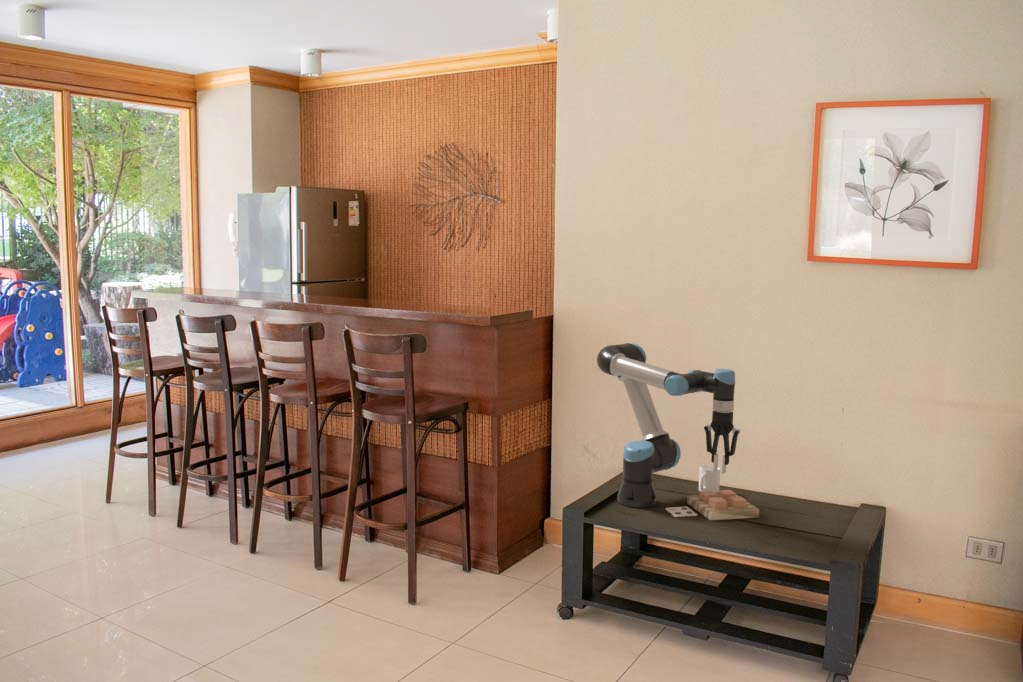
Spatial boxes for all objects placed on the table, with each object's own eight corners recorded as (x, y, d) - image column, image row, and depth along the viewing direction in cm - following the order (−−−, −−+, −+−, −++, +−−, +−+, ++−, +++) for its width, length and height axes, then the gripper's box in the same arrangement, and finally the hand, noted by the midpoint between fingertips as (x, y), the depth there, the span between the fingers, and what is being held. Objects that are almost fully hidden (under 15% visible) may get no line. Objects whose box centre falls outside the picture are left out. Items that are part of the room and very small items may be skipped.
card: (665, 509, 316) (665, 507, 316) (686, 508, 318) (687, 506, 318) (675, 517, 308) (675, 515, 308) (697, 515, 310) (697, 513, 310)
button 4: (727, 505, 316) (728, 496, 315) (739, 505, 317) (740, 496, 316) (734, 510, 311) (734, 500, 310) (746, 509, 312) (746, 500, 311)
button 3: (718, 499, 323) (718, 490, 323) (729, 498, 324) (730, 489, 324) (724, 503, 318) (724, 494, 318) (735, 502, 320) (736, 493, 319)
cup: (722, 491, 340) (723, 467, 339) (710, 498, 331) (711, 473, 330) (703, 487, 345) (705, 463, 344) (691, 494, 336) (692, 469, 335)
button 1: (699, 500, 321) (699, 491, 321) (711, 499, 323) (711, 490, 322) (705, 504, 317) (705, 495, 316) (716, 503, 318) (717, 494, 317)
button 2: (708, 507, 314) (709, 497, 313) (720, 506, 315) (721, 497, 314) (714, 511, 309) (715, 502, 308) (726, 510, 310) (727, 501, 310)
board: (686, 503, 324) (687, 495, 324) (733, 500, 329) (733, 493, 328) (710, 520, 305) (710, 512, 305) (759, 517, 310) (759, 509, 309)
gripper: (699, 409, 308) (696, 470, 311) (740, 415, 300) (737, 477, 303) (705, 406, 314) (702, 466, 317) (746, 411, 306) (743, 473, 309)
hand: (719, 471), depth 310 cm, fingers open, 3 cm apart
